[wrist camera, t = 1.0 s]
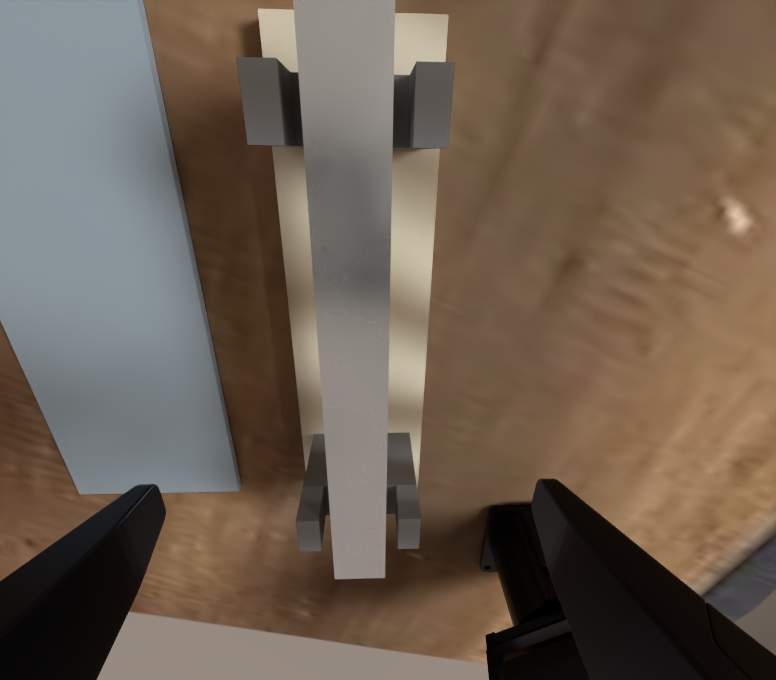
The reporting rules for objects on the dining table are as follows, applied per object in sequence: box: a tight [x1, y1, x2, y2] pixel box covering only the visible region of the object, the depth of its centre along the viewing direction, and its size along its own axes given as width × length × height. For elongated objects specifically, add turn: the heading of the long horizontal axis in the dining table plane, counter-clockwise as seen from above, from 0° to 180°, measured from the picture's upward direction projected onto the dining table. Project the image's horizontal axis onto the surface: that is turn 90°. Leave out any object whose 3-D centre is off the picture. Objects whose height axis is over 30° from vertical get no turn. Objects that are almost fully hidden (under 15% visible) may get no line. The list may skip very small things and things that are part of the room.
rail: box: [293, 0, 395, 579], centre depth 15 cm, size 22×2×2 cm, turn 179°
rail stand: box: [236, 9, 455, 552], centre depth 17 cm, size 24×7×7 cm, turn 179°
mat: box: [0, 0, 241, 494], centre depth 20 cm, size 25×10×1 cm, turn 179°
